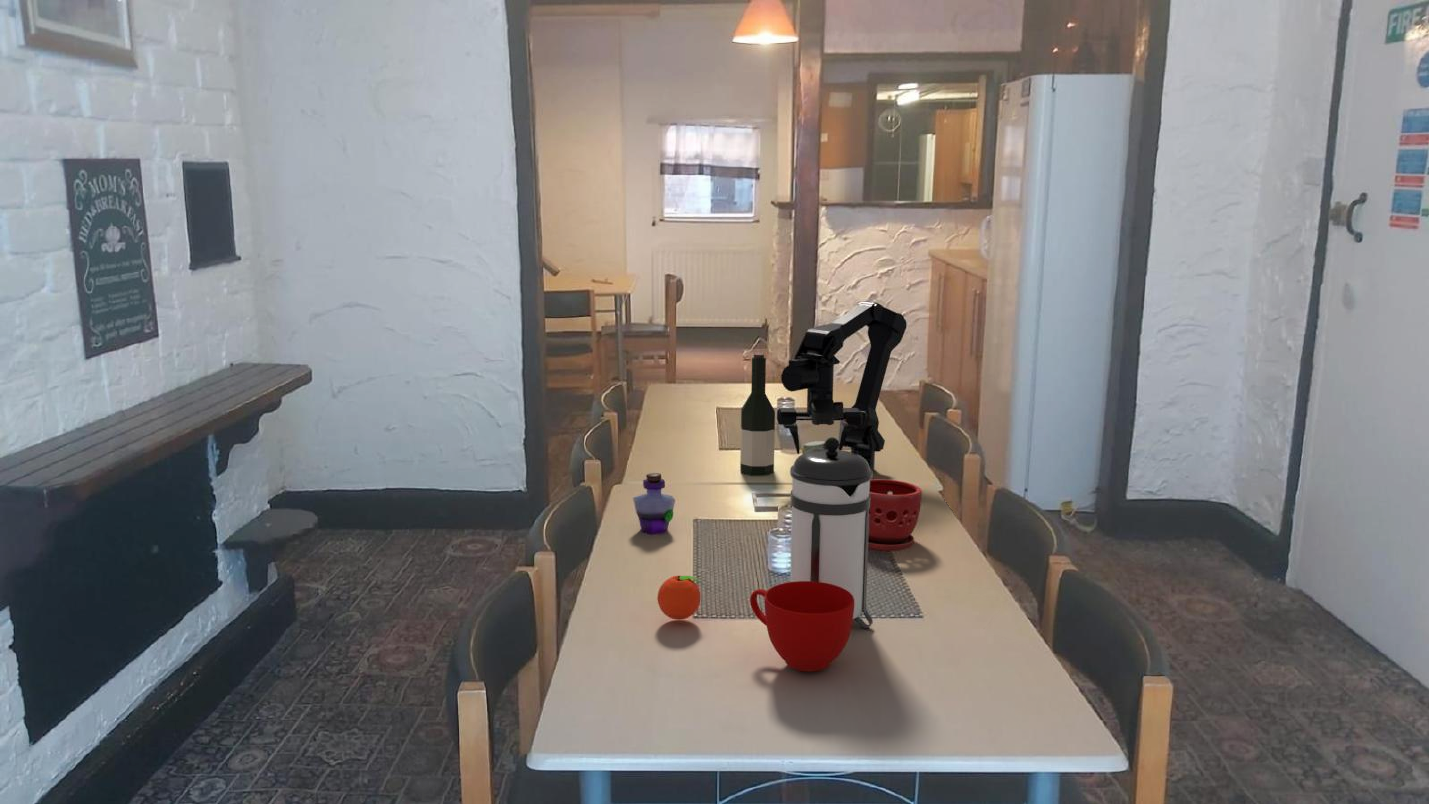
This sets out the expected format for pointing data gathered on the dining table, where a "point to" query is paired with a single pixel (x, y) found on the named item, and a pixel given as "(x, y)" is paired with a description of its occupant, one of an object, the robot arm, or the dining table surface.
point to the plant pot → (892, 514)
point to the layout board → (770, 508)
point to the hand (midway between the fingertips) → (818, 453)
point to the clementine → (679, 597)
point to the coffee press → (831, 521)
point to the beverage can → (813, 446)
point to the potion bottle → (654, 506)
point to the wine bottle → (757, 425)
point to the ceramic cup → (806, 622)
